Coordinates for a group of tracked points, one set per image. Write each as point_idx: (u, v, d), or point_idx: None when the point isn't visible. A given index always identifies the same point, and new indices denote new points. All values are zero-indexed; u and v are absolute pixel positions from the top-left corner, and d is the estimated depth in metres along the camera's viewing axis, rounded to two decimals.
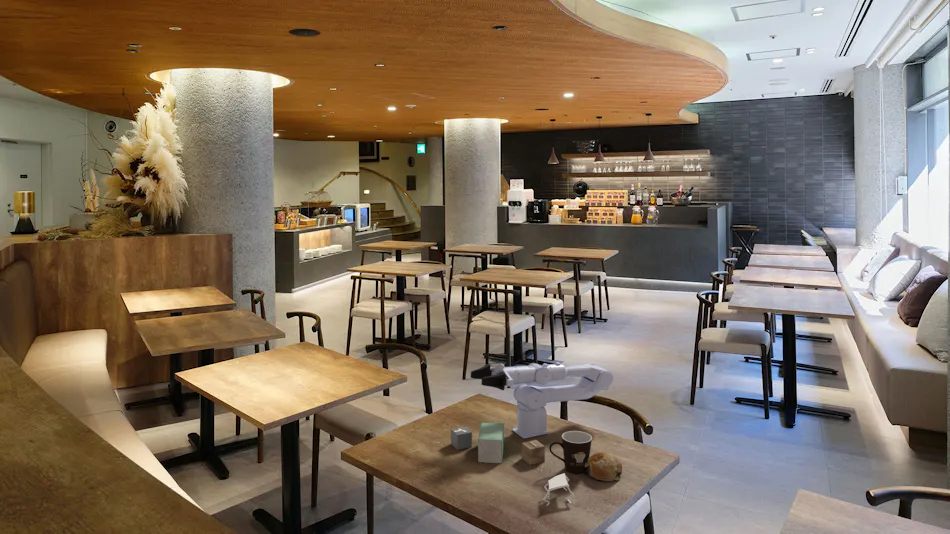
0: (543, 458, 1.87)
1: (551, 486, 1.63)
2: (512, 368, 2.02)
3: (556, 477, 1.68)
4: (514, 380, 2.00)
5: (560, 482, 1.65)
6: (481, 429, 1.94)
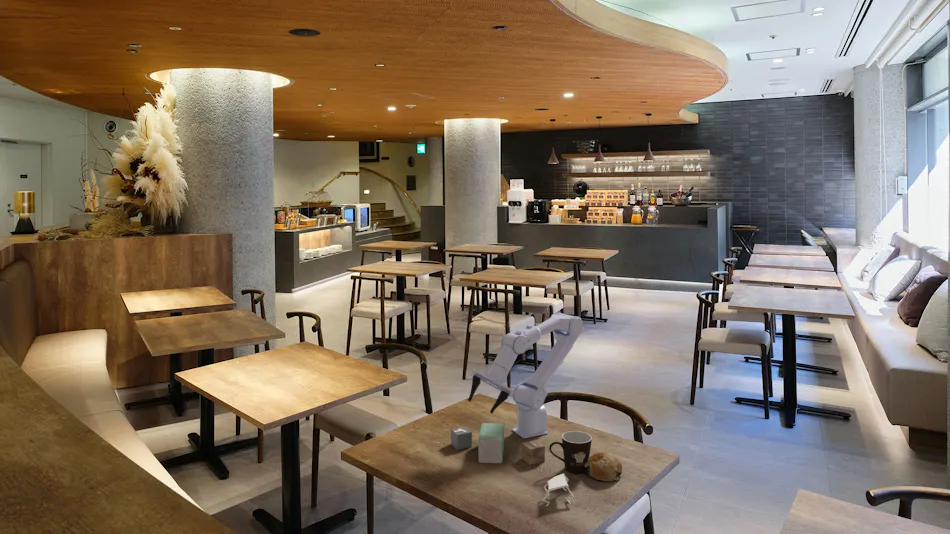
0: (543, 458, 1.87)
1: (551, 487, 1.63)
2: (501, 371, 1.94)
3: (555, 477, 1.68)
4: None
5: (559, 482, 1.65)
6: (481, 429, 1.94)
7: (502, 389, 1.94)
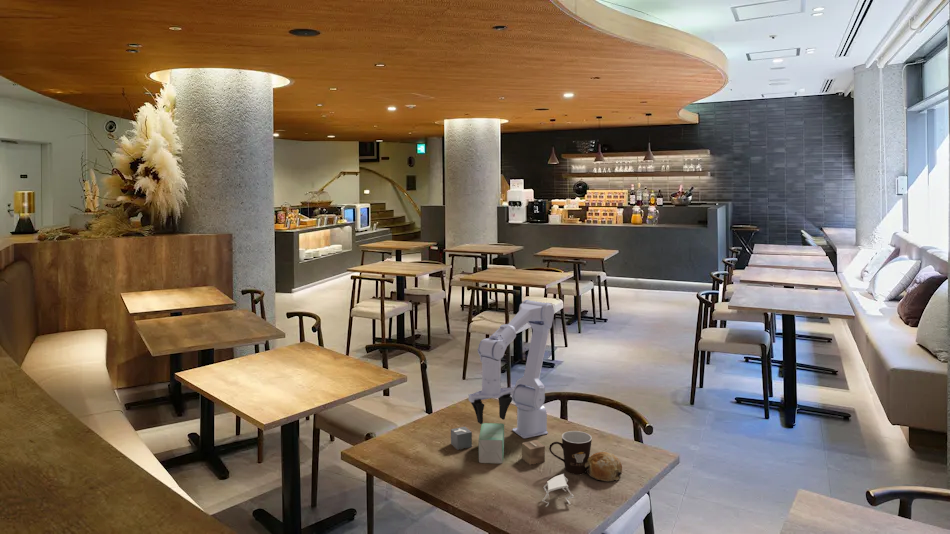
0: (543, 458, 1.87)
1: (551, 487, 1.62)
2: (498, 384, 1.88)
3: (555, 478, 1.67)
4: None
5: (559, 482, 1.65)
6: (481, 429, 1.94)
7: None
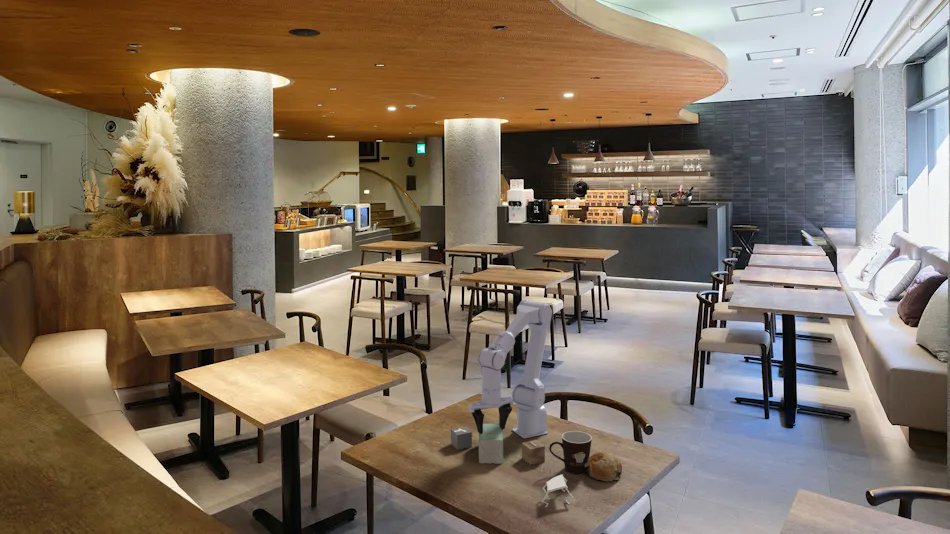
0: (543, 458, 1.87)
1: (550, 488, 1.62)
2: (497, 394, 1.89)
3: (554, 478, 1.67)
4: None
5: (558, 483, 1.65)
6: None
7: None
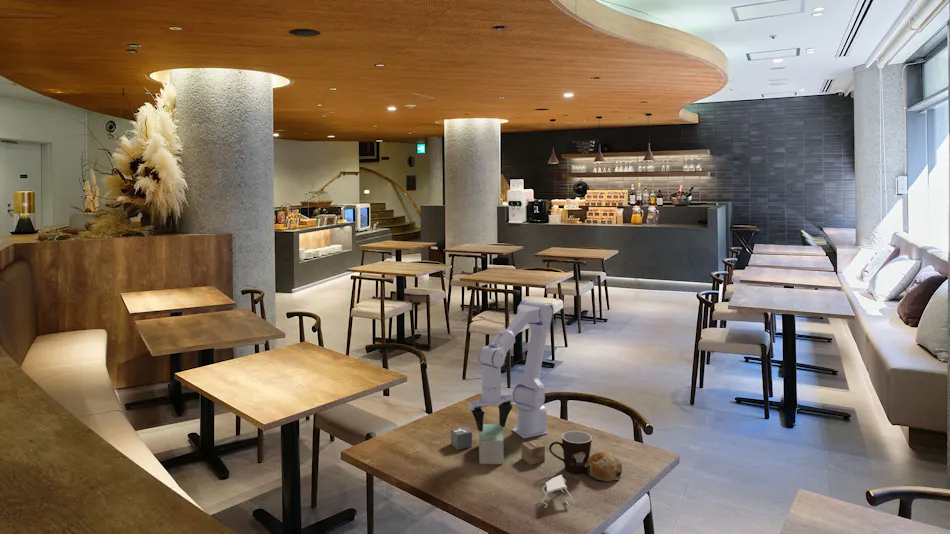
0: (543, 458, 1.87)
1: (550, 488, 1.62)
2: (497, 391, 1.89)
3: (553, 479, 1.67)
4: None
5: (558, 484, 1.64)
6: None
7: None
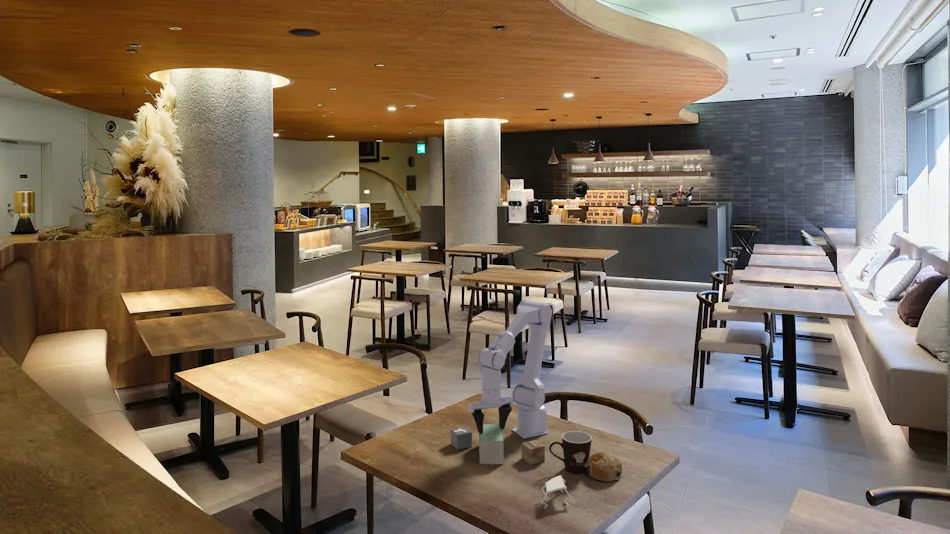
0: (543, 458, 1.87)
1: (549, 489, 1.62)
2: (497, 394, 1.89)
3: (553, 479, 1.67)
4: None
5: (557, 484, 1.64)
6: None
7: None
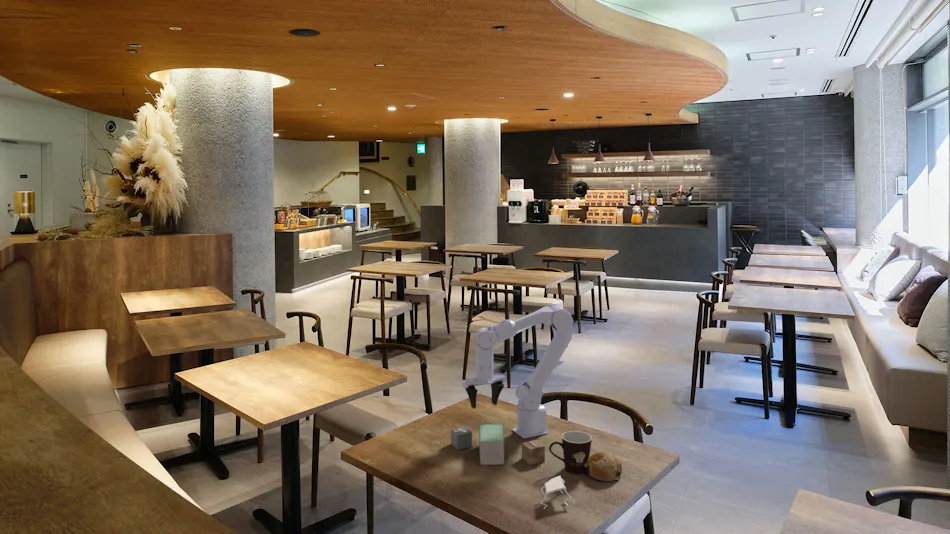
0: (543, 458, 1.87)
1: (549, 489, 1.61)
2: (490, 371, 2.01)
3: (552, 480, 1.66)
4: None
5: (557, 484, 1.64)
6: (481, 431, 1.92)
7: None
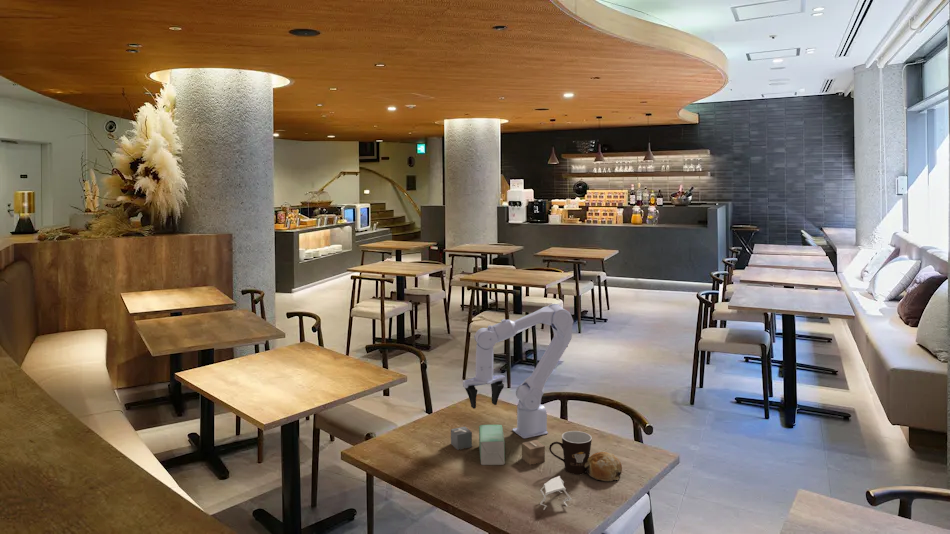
0: (543, 458, 1.87)
1: (548, 490, 1.61)
2: (490, 371, 2.01)
3: (552, 480, 1.66)
4: None
5: (556, 485, 1.63)
6: (481, 431, 1.92)
7: None
